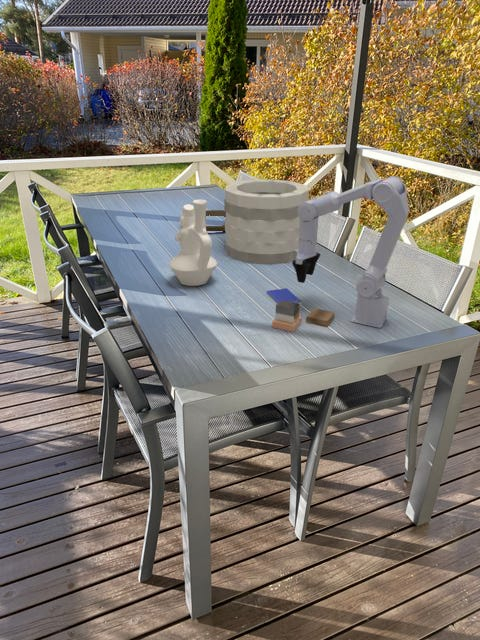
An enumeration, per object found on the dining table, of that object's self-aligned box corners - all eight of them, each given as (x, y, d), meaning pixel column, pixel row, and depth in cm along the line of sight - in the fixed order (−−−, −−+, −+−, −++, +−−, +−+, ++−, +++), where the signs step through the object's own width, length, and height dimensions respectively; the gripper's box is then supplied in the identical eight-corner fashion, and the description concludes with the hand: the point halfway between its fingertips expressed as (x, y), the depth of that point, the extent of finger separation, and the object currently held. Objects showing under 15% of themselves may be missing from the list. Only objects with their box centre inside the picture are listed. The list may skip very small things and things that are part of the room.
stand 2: (334, 317, 159) (334, 312, 159) (327, 326, 154) (327, 321, 153) (313, 313, 162) (313, 307, 161) (305, 322, 157) (306, 316, 156)
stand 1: (301, 322, 156) (302, 317, 156) (293, 332, 151) (293, 326, 150) (281, 318, 159) (281, 312, 158) (272, 327, 154) (272, 321, 153)
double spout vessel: (209, 270, 197) (207, 188, 182) (227, 291, 178) (226, 202, 164) (165, 276, 191) (159, 192, 177) (179, 298, 173) (173, 206, 158)
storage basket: (286, 235, 238) (288, 177, 226) (319, 259, 208) (324, 193, 196) (215, 243, 228) (214, 182, 216) (239, 269, 199) (239, 200, 186)
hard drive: (302, 301, 168) (287, 287, 179) (279, 304, 166) (266, 290, 177) (302, 305, 169) (287, 291, 180) (279, 308, 167) (266, 294, 177)
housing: (298, 318, 155) (299, 303, 152) (293, 324, 151) (294, 309, 149) (281, 314, 157) (281, 299, 155) (275, 319, 154) (275, 305, 151)
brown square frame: (174, 233, 242) (174, 224, 240) (190, 216, 269) (190, 208, 267) (237, 236, 237) (237, 227, 235) (247, 219, 264) (247, 210, 262)
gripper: (304, 230, 166) (302, 269, 172) (287, 242, 155) (285, 283, 161) (324, 233, 163) (321, 272, 169) (308, 246, 152) (306, 287, 158)
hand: (305, 278), depth 165 cm, fingers open, 7 cm apart
